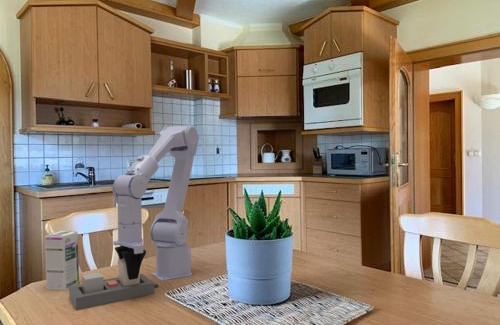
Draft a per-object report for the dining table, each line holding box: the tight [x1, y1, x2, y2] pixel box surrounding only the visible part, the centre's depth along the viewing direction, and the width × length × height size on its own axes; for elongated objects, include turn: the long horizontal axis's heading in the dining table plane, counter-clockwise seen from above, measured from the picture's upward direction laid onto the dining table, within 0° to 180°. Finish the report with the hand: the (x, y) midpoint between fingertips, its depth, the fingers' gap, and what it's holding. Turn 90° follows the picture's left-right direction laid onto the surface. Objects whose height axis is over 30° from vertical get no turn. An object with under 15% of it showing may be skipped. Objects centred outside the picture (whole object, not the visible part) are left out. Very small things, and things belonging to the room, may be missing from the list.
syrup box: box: [44, 230, 80, 291], centre depth 102 cm, size 6×6×14 cm
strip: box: [68, 272, 159, 311], centre depth 96 cm, size 20×9×6 cm, turn 124°
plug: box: [118, 258, 141, 286], centre depth 97 cm, size 4×4×6 cm
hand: (130, 276), depth 97 cm, fingers closed on plug, 4 cm apart
